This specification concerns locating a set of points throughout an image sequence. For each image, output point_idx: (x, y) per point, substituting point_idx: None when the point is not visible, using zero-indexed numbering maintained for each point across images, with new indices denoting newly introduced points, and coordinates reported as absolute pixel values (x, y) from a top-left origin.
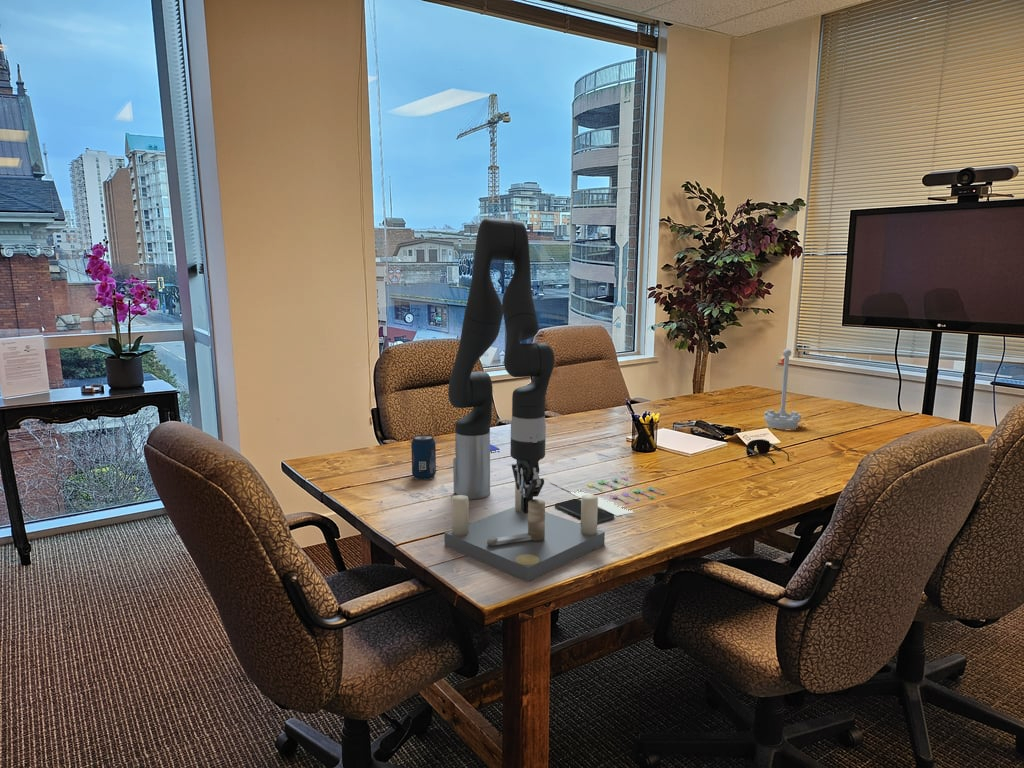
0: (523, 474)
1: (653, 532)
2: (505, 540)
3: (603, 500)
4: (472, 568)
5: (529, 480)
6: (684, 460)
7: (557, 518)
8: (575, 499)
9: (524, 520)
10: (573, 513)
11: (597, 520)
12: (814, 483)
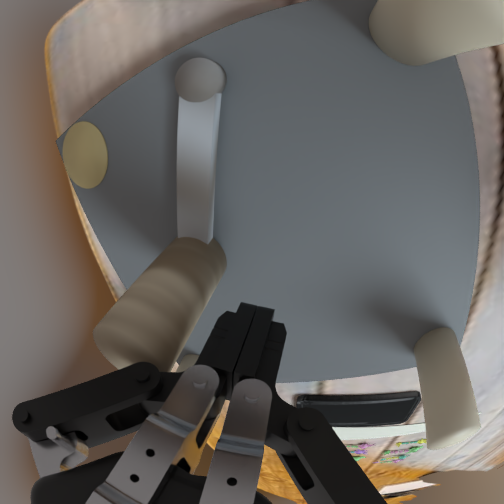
0: (94, 495)
1: (221, 414)
2: (179, 132)
3: (370, 436)
4: (193, 12)
5: (103, 458)
6: (378, 483)
7: (314, 373)
8: (403, 421)
9: (367, 309)
10: (358, 401)
11: (297, 407)
12: (263, 486)
